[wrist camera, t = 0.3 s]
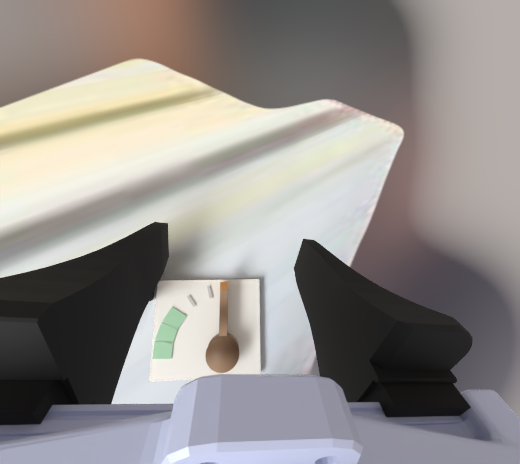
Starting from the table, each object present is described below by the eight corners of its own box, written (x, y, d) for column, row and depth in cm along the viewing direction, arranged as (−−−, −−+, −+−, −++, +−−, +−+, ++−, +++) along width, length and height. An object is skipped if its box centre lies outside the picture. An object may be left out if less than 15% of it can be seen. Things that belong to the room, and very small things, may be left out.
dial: (238, 365, 35) (239, 371, 33) (206, 367, 35) (204, 374, 32) (239, 281, 38) (239, 281, 36) (209, 282, 37) (208, 282, 35)
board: (259, 372, 36) (260, 375, 35) (151, 379, 34) (148, 382, 33) (258, 279, 39) (259, 279, 38) (159, 280, 38) (157, 280, 36)
